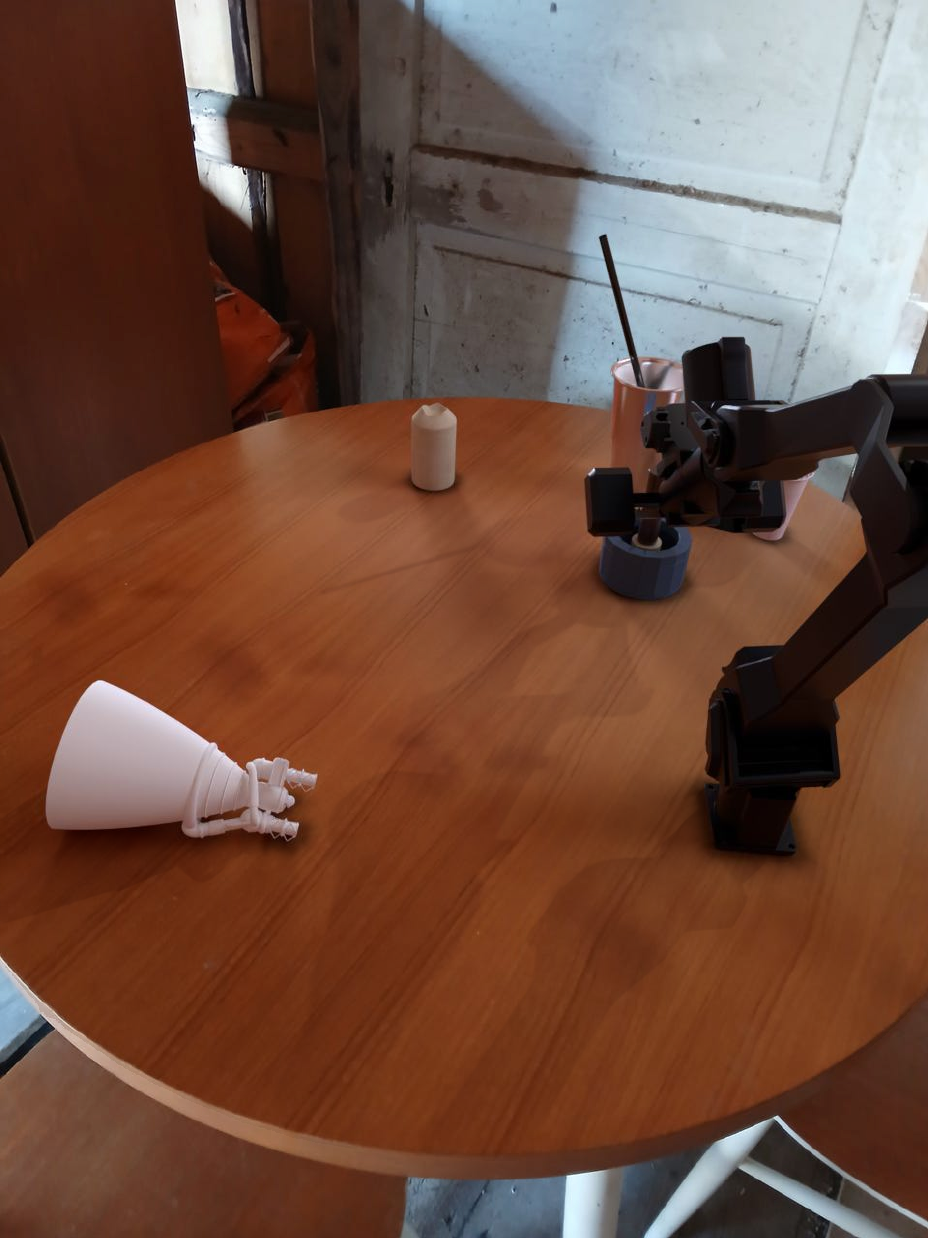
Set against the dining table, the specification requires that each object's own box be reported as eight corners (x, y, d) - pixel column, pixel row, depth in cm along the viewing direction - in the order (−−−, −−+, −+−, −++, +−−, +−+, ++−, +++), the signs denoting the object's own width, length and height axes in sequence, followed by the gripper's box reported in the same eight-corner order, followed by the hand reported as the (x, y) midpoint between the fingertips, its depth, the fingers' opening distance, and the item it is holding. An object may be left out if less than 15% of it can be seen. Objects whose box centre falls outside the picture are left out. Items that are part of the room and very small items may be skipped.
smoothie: (796, 550, 106) (830, 441, 97) (740, 542, 106) (769, 434, 98) (792, 521, 111) (824, 416, 102) (738, 514, 111) (766, 409, 103)
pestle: (635, 581, 99) (654, 480, 91) (621, 565, 101) (638, 465, 93) (661, 576, 99) (681, 475, 92) (646, 560, 102) (666, 461, 94)
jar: (687, 603, 97) (697, 560, 93) (601, 596, 97) (607, 554, 94) (677, 555, 104) (686, 514, 101) (597, 549, 104) (603, 508, 101)
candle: (405, 486, 114) (405, 413, 108) (419, 466, 118) (420, 395, 112) (447, 494, 113) (449, 420, 107) (460, 474, 117) (462, 402, 111)
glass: (569, 474, 118) (597, 233, 100) (641, 459, 122) (681, 224, 103) (613, 514, 110) (653, 262, 92) (689, 497, 114) (741, 251, 96)
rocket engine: (327, 731, 66) (81, 672, 65) (285, 890, 64) (29, 833, 62) (328, 737, 78) (119, 687, 76) (293, 873, 75) (76, 824, 74)
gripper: (806, 388, 80) (737, 444, 96) (601, 390, 78) (564, 447, 94) (818, 510, 79) (746, 547, 94) (610, 516, 77) (571, 552, 93)
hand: (657, 520), depth 94 cm, fingers open, 9 cm apart
